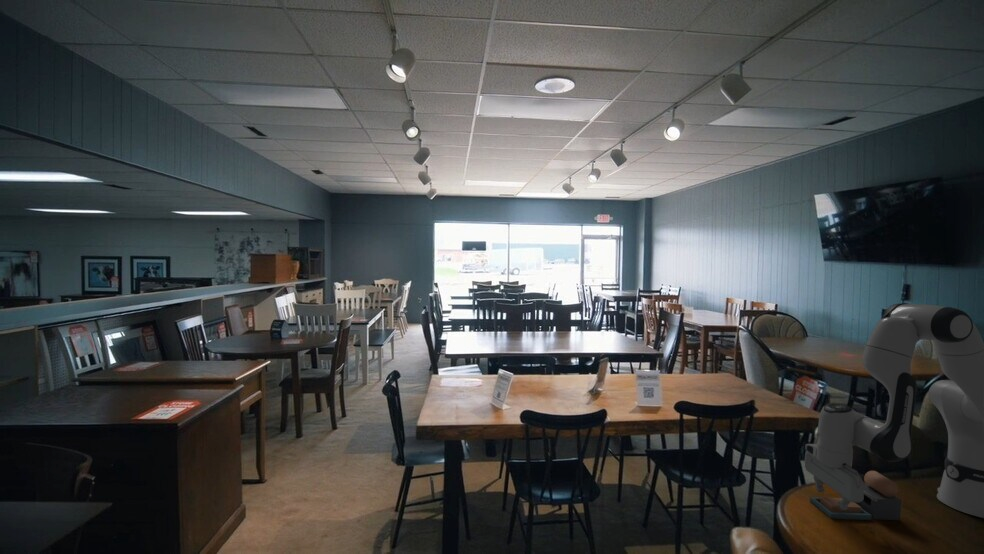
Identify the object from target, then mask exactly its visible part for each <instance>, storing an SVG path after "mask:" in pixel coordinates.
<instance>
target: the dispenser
mask: <svg viewBox="0 0 984 554" xmlns="http://www.w3.org/2000/svg"><path fill="white" fill-rule="evenodd" d="M863 479H864V481H863V482H865V483H863V489H864V499H863V501H862V502H855V503H856V504H857V505H859V506H860V507H861V508H862V509H863V510H865V511H866V512H868V513H869V514H870V515H871V520H884V521H885V520H888V521H889V520H890V521H891V520H892V521H900V520H901V512H902V499H901V498H899V497H898V496H897V495H898V493H899V491H900V490H899V489H900V488H899V485H898V484H897V482H895V481H893V480H891V479H890V478H888V477H887V476H885V475H883V474H881V473H879V472H878V471H876V470H869V471H867V472H865V475H864V477H863Z"/></svg>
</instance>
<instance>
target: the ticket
mask: <svg viewBox="0 0 984 554" xmlns="http://www.w3.org/2000/svg"><path fill="white" fill-rule="evenodd" d="M819 498H820V503H821V504H822V505H823V506H824V507H826V508H827V509H828V510H829V511H831V512H836V513H861V507H860V506H859V505H857V504H856V503H855V502H850V503H849V504H848V507H847V510H842V509H841V508H839V507H838V501H840V502H841V501H842V498H841V497H824V496H823V497H822V496H820V497H819Z"/></svg>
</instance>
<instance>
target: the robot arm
mask: <svg viewBox="0 0 984 554" xmlns="http://www.w3.org/2000/svg"><path fill="white" fill-rule="evenodd" d="M919 340H923V341H924V340H927V341H932V344H933V348H934V351H935V354H936V356H937V360H938V363H939V365H940V369H941V371H942V373H943V374H944V375H945V376H946V377H947V378H948V379H949V380H947V379H940V380H937V381H935V382H934V383H933V384H931V386H930V387H929V390H928V398H929V401H930V402H931V403H932V405H934V406H935V407H936V409H937V410H938V412H939V413H940V414H941V415H940V416H942V419H943V421H944V423H945V426H946V430H947V435H948V439H947V440H948V441H947V455H946V456H945V459H944V470H943V474H942V478H941V482H940V486H939V487H937V489H936V490H937V492H938V493H937V494H936V498H937V499H938V501H940V502H941V503H943V504H945V505H946V506H948V507H949V508H952V509H954V510H956V511H959V512H962V513H965V514H967V515H971V516H975V517H978V518H981V519H984V340H983V338H982V335H981V333H980V332H979V330H978V327H977V326H976V324H975V323H974V322H973V319H972V318H971V317H970V315H969V314H968V313H967V312H965V311H963V310H962V309H958V308H957V307H956V308H955V307H953V306H951V307H950V306H942V305H935V304H928V303H924V304H923V303H907V302H903V303H902V302H901V303H894V304H891V305H890V306H888V307H887V309H885V311H884V312H883V314H882V318H880V320H879V321H878V322H877V323H876V325H875V326H874V328H873V330H872V331H871V333H870V335H869V338H868V339H867V341H866V345H865V347H864V350H863V353H862V360H861V361H862V362H861V363H862V366H863V368H864V369H865V370H866V372H867V373H868V374H869V375H870V376H872V378H874V379H875V380H877V381H878V382H879V383H880V384H882V385H883V387H884V388H886V390H887V392H888V395H889V402H888V408H887V415H886V420H885V421H886V422H885V423H884V422H881V421H879V420H876V419H874V418H871V417H869V416H867V415H864V414H863V413H859V412H857V411H855V410H854V409H853V408H852V407H851V406H849V405H847V404H843V403H833V402H832V403H827V404H825V405H823V406H822V408H821V410H820V412H819V417H818V426H817V427H818V428H817V431H818V440H817V441H816V443H806V444H805V446H804V450H805V452H804V453H805V454H804V469H805V470H806V471H807V472H808V473H810V474H811V475H812V476H813V481H814V484H815V490H816V491H817V493H821V494H822V493H823V494H824V493H825V486H824V484H825V485H827V487H829V488H830V489H832V490H833V491H834V492H836V493H837V494H839V495H840V498H842V501H841V502H840V501H838V507H839V508H841V509H842V510H847V507H848V504H849V503H850V502H862V501H863V499H864V489H863V484H864V481H863V478H862V476H860V473H859V472H858V470H857V469H855V468H853V467H852V466H853V457H854V455H853V454H854V449H853V447H855V446H856V447H858V448H860V449H863V450H864V451H868V452H869V453H871V454H873V455H874V456H876V457H878V458H879V459H882V460H883V461H885V462H888V463H895V462H900V461H903V460H905V459H907V458H909V456H910V455H911V453H912V449H913V441H912V440H913V439H912V429H913V424H914V423H913V422H914V414H915V408H916V407H915V406H916V401H917V400H916V399H917V391H918V390H917V389H918V388H917V387H918V385H917V384H918V383H917V381H916V378H915V377H914V376H913V375H912V371H911V370H912V369H911V366H912V360H913V356H914V353H915V349H916V345H917V342H918V341H919Z"/></svg>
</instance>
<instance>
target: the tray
mask: <svg viewBox="0 0 984 554" xmlns="http://www.w3.org/2000/svg"><path fill="white" fill-rule="evenodd" d="M809 502H810V503H811V504H812V505H813V506H814V507H815V508H817V509H818V510H819V511H821V512H822V513H823V514H825V515H826V516H827V517H828V518H829V519H830V520H833V519H834V520H858V521H860V520H861V521H872V518H871V515H870V514H869V513H868V512H866V511H865V510H863V509H862V508H861V513H836V512H831V511H829V510H828V509H827V508H826V507H824V506H823V505H822V504H821V503H820V497H817V496H815V497H813V496H812V497H811V496H810V497H809Z"/></svg>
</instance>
